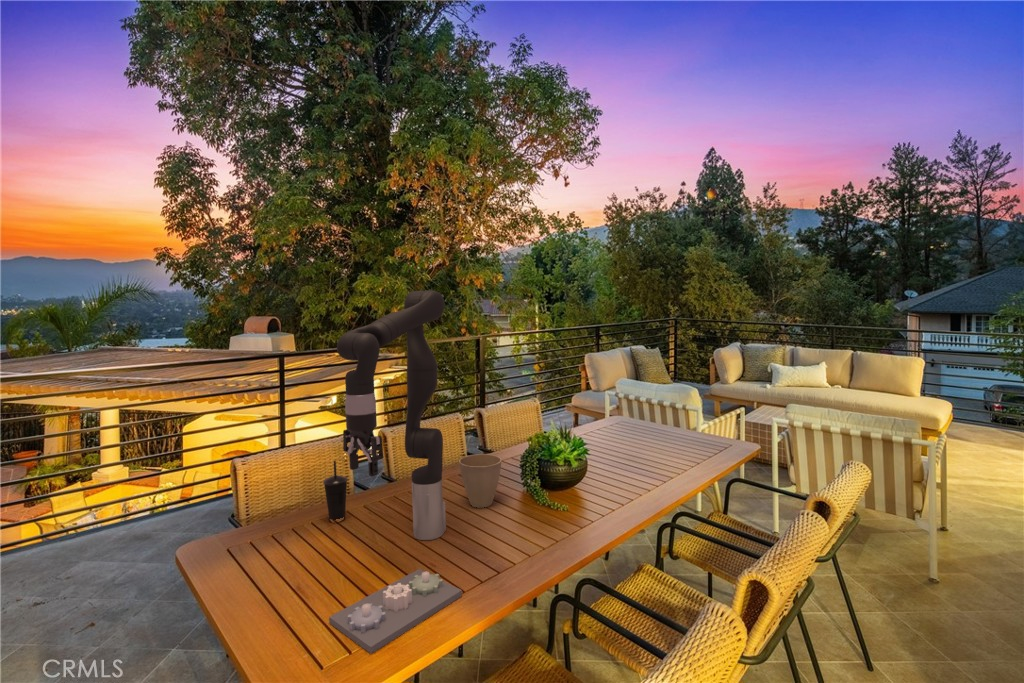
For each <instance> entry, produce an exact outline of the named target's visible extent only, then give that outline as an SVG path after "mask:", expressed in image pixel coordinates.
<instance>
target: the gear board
mask: <svg viewBox="0 0 1024 683" xmlns="http://www.w3.org/2000/svg"><path fill="white" fill-rule="evenodd" d="M398 583H401V585H407V584H408V585H410V589H412V603H409V604H408V608H406V609H404V608H403V609H399V610H398V611H397V612H394V610H390V609H389V610H386V609H385V605H383V591H387V589H388V586H390V585H391V586H394V585H397V584H398ZM401 593H402V589H401V587H395V588H394V595H397V594H401ZM461 597H463V590H462V589H460V588H458V587H456V586H454V585H452V584H450V583H449V582H446V581H444V580H443V578H440V574H439V573H435V574H433V573H430V572H429V571H427V570H426V571H425V570H422V569H421V568H418V569H416V570H415V571H412V572H410V573H409V574H407V575H404V576H403V577H402V578H399V579H397V580H396V581H393V582H392V583H390V584H388V585H386V586H384V587H382V588H380V589H379V590H376V591H375V592H372V593H371V594H369V595H367V596H366V597H364V598H362V599H360V600H358V601H356V602H354V603H352V604H351V605H349V606H347V607H345V608H342V609H341V610H339V611H338V612H336V613H334V614H332V615H330V616H328V621H329V622H328V623H329V625H331V626H333V628H335V629H336V628H337V629H336V630H338V631H339V632H341V633H342V634H343V635H344V636H346V637H347V638H348V639H350V640H351V641H353V642H354V643H356V644H357V645H358V646H359V647H361V648H362V649H364V650H365V651H366V652H368V653H369V654H371V655H372V654H374V653H375V652H376V651H378V650H380V649H382V648H383V647H384V646H386V645H387V644H389V643H391V642H392V641H394V640H395V639H397V638H398V637H400V636H402V635H403V634H406V632H408V631H409V630H411V629H412V628H414V627H415V626H417V625H419V624H421V623H422V622H424V621H425V620H427V619H428V618H430V617H432V616H433V615H435V614H436V613H438V612H440V611H441V610H442V609H444V608H446V607H448V606H449V605H450V604H452V603H454V602H455V601H457V600H458V599H460V598H461ZM373 652H374V653H373Z"/></svg>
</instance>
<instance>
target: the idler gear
mask: <svg viewBox="0 0 1024 683" xmlns="http://www.w3.org/2000/svg"><path fill="white" fill-rule="evenodd" d="M389 585H390V584H389ZM387 586H388V585H387ZM395 587H401V589H402V593H401V594H397V595H394V588H395ZM409 603H412V589H410V585H408V584H407V585H401V583H398V584H397V585H394V586H391V585H390V586H388V589H387V591H383V605H385V609H386V610H389V609H390V610H394V612H397V611H398V610H399V609H403V608H404V609H406V608H408V604H409Z"/></svg>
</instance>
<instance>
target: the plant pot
mask: <svg viewBox="0 0 1024 683" xmlns="http://www.w3.org/2000/svg"><path fill="white" fill-rule="evenodd" d="M502 461H503V460H502V458H501V457H500V456H498V455H494V454H487V453H481V454H480V453H478V454H470V455H466V456H463V457H461V458H460V459H459V461H458V463H459V467H460V468H459V469H460V474H461V479H462V483H463V487H464V490H465V493H466V496H467V498H468V501H469V504H470V506H471V505H472V506H471V507H473V508H476V507H477V508H478V509H485V508H488V507H490V506H491V505H492V504H493V501H494V498H495V495H496V492H497V488H498V485H499V484H498V483H499V479H500V473H501V468H502ZM484 507H485V508H484Z"/></svg>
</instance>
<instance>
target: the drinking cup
mask: <svg viewBox="0 0 1024 683" xmlns="http://www.w3.org/2000/svg"><path fill="white" fill-rule="evenodd" d="M348 481H349V479H348V477H347V476H344V475H339V474H338V475H337V462H336V460H333V475H332V476H329V477H327V478H325V479H324V480H323V482H322V484H323V485H324V490H325V496H326V505H327V512H328V519H329V518H330V519H333V520H336V519H340V518H343V517H345V518H346V505H347V488H348V486H347V485H348Z"/></svg>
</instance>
